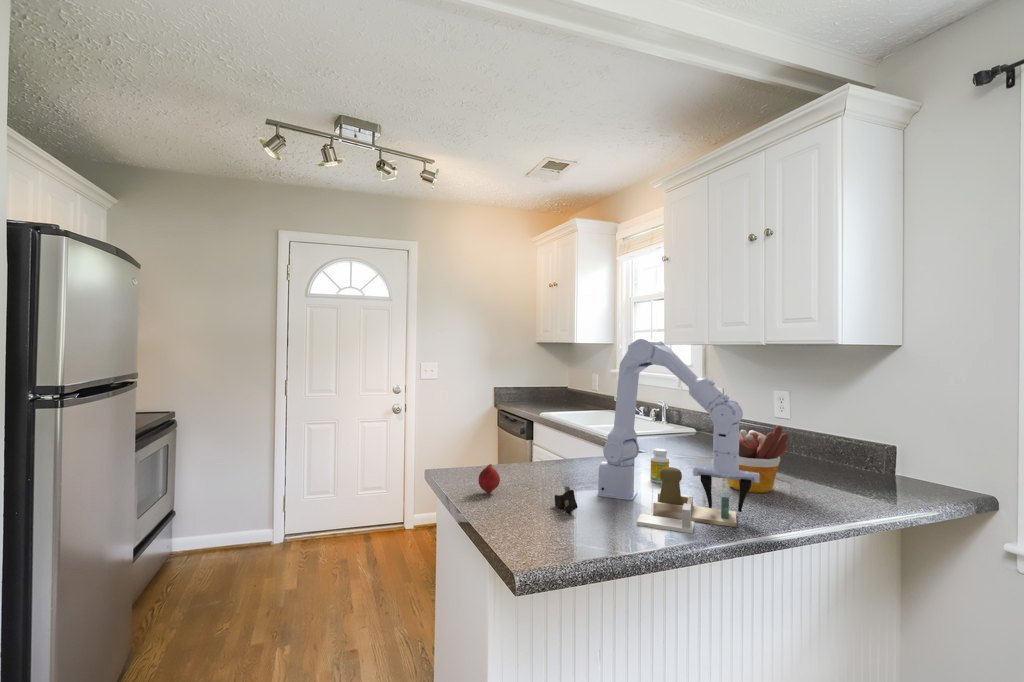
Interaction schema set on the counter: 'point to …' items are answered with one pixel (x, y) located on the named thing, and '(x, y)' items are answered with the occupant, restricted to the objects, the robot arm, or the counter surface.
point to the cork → (670, 486)
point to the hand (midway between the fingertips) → (724, 509)
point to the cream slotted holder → (698, 511)
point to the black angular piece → (566, 500)
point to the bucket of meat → (760, 457)
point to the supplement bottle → (658, 464)
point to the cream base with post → (669, 521)
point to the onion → (489, 479)
